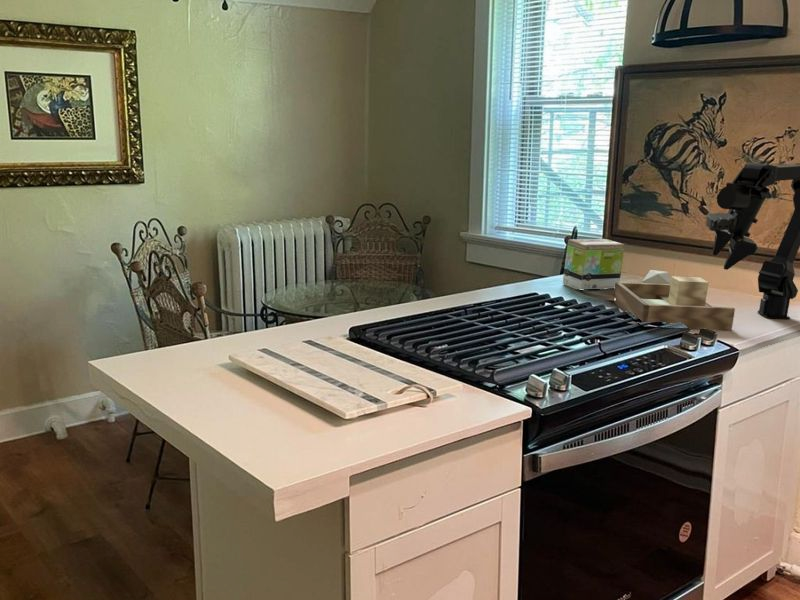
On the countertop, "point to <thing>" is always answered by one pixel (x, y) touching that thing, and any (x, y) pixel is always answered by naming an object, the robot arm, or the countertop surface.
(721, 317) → the trap box
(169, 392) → the countertop surface
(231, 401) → the countertop surface
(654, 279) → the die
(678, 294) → the maple block
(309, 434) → the countertop surface
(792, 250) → the robot arm
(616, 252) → the tea box
